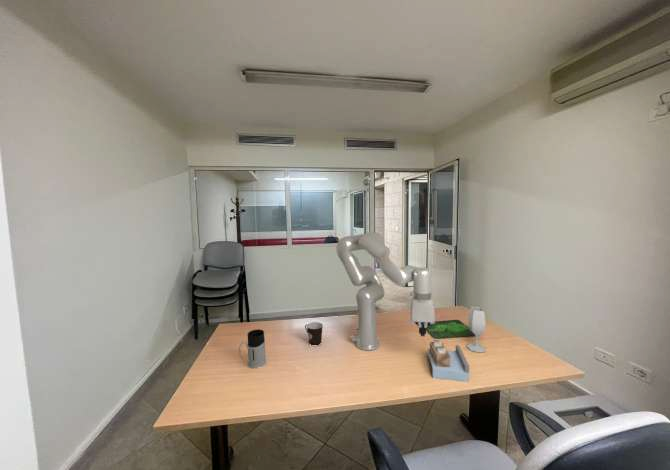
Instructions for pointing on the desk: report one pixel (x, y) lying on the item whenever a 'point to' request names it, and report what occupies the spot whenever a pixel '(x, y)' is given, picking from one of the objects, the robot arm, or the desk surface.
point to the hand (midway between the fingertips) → (422, 335)
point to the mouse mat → (448, 329)
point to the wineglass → (476, 327)
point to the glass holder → (255, 348)
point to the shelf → (452, 367)
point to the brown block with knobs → (439, 354)
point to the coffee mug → (314, 332)
